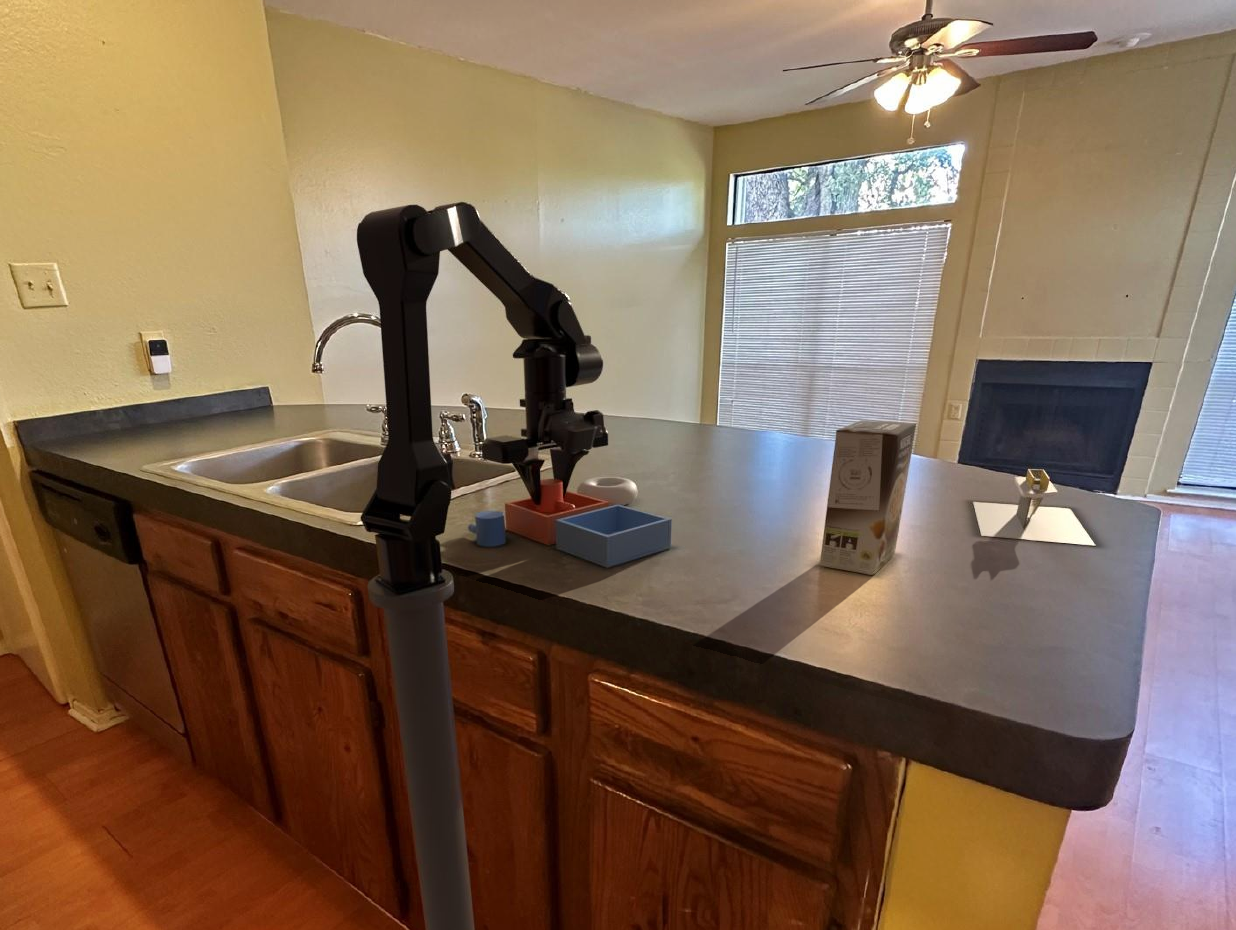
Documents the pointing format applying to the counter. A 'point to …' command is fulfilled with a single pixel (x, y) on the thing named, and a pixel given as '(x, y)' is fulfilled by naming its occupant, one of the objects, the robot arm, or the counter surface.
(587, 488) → the donut
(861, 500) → the coffee box
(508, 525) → the red bin
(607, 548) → the blue bin
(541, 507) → the red cylinder with peg
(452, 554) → the counter surface
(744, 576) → the counter surface
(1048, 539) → the platform
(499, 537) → the blue handled mug
